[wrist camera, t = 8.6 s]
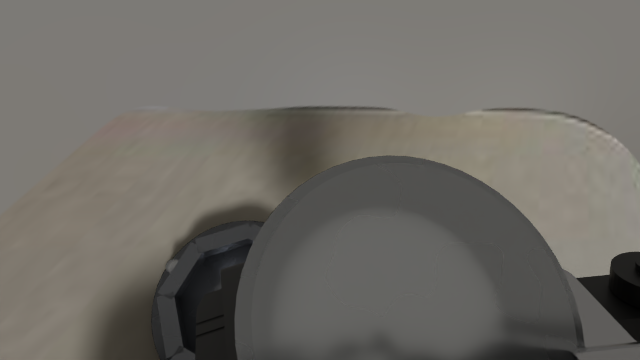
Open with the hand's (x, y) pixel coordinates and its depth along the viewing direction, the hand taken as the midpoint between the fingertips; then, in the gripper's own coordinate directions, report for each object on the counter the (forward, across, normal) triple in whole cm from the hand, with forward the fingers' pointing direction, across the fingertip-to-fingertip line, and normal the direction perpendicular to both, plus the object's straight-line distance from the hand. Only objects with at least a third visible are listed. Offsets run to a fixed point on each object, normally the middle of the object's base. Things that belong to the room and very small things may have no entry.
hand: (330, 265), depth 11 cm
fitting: (+2, 0, +5) cm, 5 cm away
